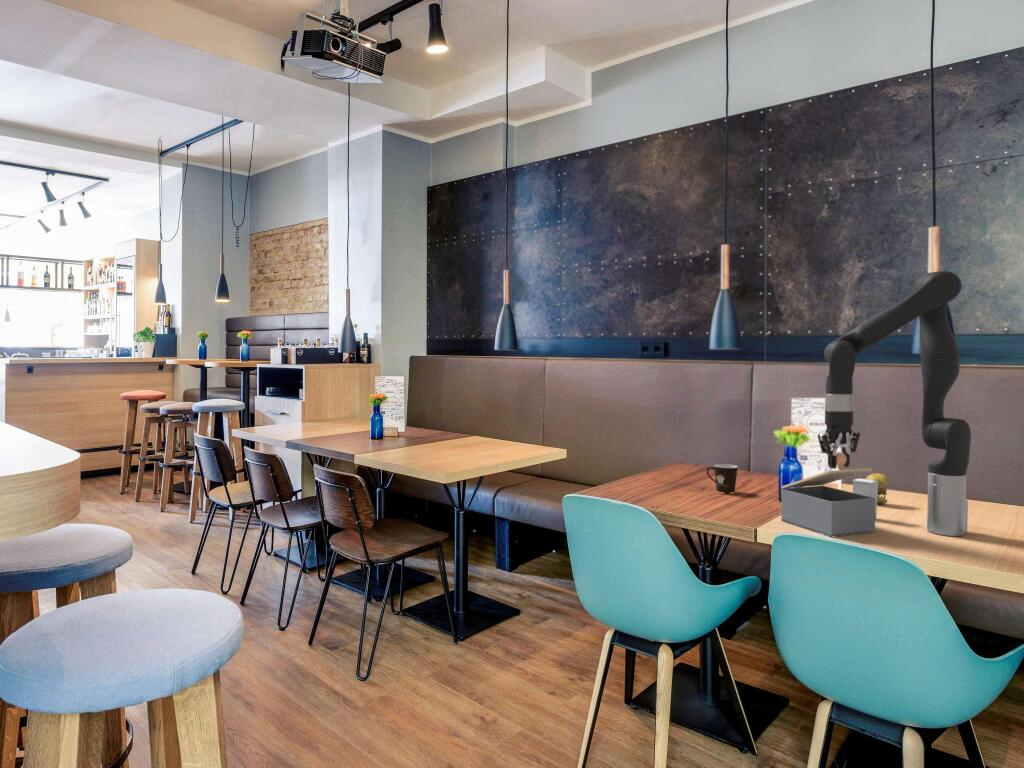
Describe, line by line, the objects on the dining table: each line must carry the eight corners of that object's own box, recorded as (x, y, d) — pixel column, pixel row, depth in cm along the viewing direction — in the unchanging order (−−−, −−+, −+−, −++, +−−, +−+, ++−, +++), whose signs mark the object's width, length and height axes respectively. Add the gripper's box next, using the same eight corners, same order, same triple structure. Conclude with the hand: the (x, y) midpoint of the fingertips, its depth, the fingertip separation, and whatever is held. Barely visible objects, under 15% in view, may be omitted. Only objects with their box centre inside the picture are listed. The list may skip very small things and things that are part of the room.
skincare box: (851, 517, 209) (851, 479, 209) (857, 515, 212) (858, 477, 212) (871, 521, 204) (871, 482, 204) (877, 519, 207) (878, 480, 207)
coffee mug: (742, 493, 246) (742, 467, 246) (722, 495, 244) (722, 468, 243) (724, 488, 257) (724, 462, 257) (704, 489, 255) (705, 463, 255)
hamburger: (893, 505, 226) (894, 470, 225) (878, 507, 223) (878, 472, 222) (873, 501, 233) (874, 467, 232) (858, 502, 230) (859, 468, 230)
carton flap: (822, 484, 210) (817, 465, 212) (871, 469, 192) (864, 448, 194) (781, 488, 205) (776, 468, 207) (827, 473, 187) (821, 451, 189)
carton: (822, 516, 210) (822, 485, 210) (874, 532, 191) (875, 498, 191) (781, 520, 205) (781, 489, 205) (831, 537, 186) (831, 502, 186)
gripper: (847, 407, 199) (847, 464, 199) (810, 409, 194) (809, 467, 195) (868, 409, 192) (868, 468, 192) (829, 411, 187) (829, 471, 188)
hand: (838, 467), depth 194 cm, fingers closed on carton flap, 4 cm apart
